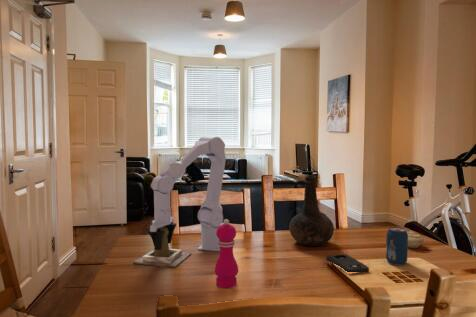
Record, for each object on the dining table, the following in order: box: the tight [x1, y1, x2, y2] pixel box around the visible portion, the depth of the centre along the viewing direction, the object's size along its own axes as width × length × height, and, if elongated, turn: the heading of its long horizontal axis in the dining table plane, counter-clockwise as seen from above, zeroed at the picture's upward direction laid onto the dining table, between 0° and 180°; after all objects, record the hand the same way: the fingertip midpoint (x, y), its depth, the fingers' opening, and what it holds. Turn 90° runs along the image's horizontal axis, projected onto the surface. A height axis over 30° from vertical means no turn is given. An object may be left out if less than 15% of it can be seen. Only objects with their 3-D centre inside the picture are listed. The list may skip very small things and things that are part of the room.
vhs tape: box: [326, 253, 370, 273], centre depth 129 cm, size 14×8×2 cm, turn 15°
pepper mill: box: [214, 218, 239, 289], centre depth 113 cm, size 7×7×20 cm
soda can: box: [385, 226, 409, 266], centre depth 131 cm, size 7×7×12 cm
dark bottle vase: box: [288, 175, 335, 247], centre depth 154 cm, size 18×18×28 cm
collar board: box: [133, 248, 192, 269], centre depth 136 cm, size 16×14×2 cm
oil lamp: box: [406, 230, 425, 249], centre depth 153 cm, size 11×14×5 cm
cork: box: [153, 227, 170, 258], centre depth 136 cm, size 6×6×11 cm
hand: (163, 246), depth 136 cm, fingers open, 7 cm apart
